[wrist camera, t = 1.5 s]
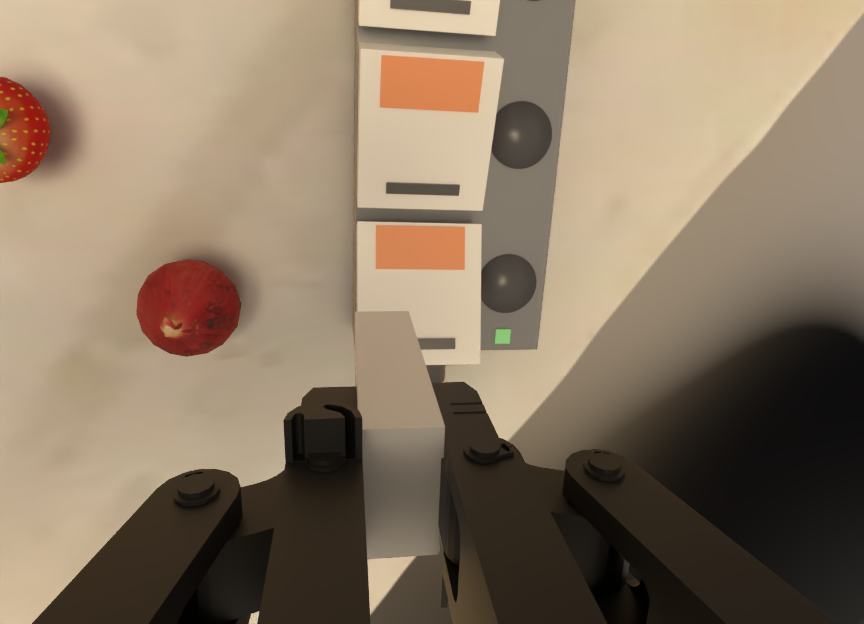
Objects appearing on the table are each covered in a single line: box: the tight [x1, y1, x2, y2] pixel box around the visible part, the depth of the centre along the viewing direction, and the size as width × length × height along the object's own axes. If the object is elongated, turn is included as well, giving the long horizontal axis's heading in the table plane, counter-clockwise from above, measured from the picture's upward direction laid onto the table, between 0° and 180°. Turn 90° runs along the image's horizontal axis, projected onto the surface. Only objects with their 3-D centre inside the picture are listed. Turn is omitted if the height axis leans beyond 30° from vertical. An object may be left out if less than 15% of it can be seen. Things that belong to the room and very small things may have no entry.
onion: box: [137, 260, 241, 356], centre depth 35 cm, size 6×6×8 cm
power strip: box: [353, 0, 575, 383], centre depth 36 cm, size 12×31×6 cm, turn 177°
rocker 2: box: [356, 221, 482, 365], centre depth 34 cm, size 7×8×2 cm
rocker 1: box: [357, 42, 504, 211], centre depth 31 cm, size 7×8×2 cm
